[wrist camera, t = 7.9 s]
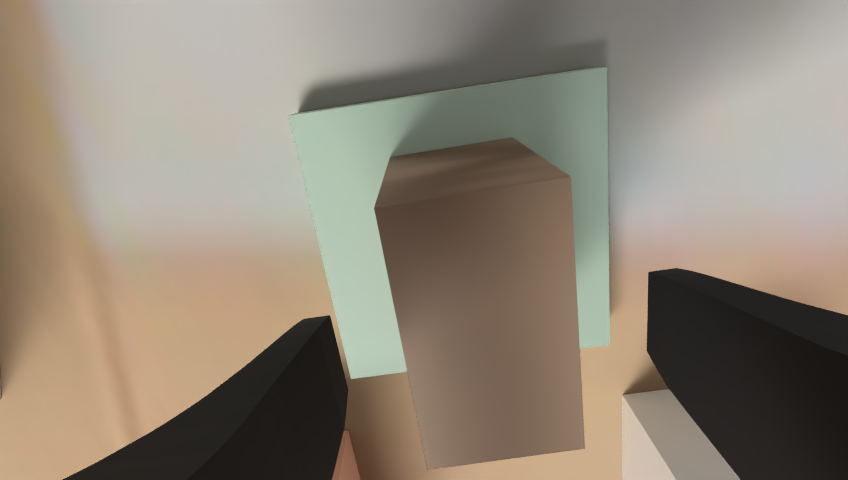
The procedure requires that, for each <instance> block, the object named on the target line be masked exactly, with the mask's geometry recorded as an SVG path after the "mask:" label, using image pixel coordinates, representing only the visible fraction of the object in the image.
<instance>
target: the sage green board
mask: <svg viewBox="0 0 848 480" xmlns="http://www.w3.org/2000/svg"><path fill="white" fill-rule="evenodd" d="M288 118H289V122H290V126H291V130H292V135H293V139H294V143H295V147H296V151H297V155H298V160H299V164H300V168H301V172H302V176H303V181H304V185H305V189H306V193H307V197H308V201H309V206H310V210H311V214H312V218H313V222H314V227H315V231H316V235H317V239H318V243H319V247H320V252H321V256H322V260H323V264H324V268H325V273H326V277H327V281H328V285H329V289H330V293H331V298H332V302H333V306H334V310H335V314H336V319H337V323H338V327H339V331H340V335H341V339H342V344H343V348H344V352H345V356H346V360H347V364H348V369H349V373H350V377H351V379H356V378H363V377H371V376H378V375H386V374H394V373H401V372H407V368H406V363H405V358H404V353H403V348H402V343H401V338H400V333H399V328H398V323H397V319H396V314H395V309H394V304H393V299H392V294H391V289H390V284H389V279H388V274H387V269H386V265H385V260H384V255H383V250H382V245H381V240H380V235H379V230H378V225H377V220H376V216H375V211H374V206H375V203H376V200H377V197H378V194H379V190H380V187H381V184H382V181H383V178H384V174H385V171H386V168H387V165H388V162H389V159H390V157H394V156H400V155H406V154H412V153H418V152H424V151H430V150H437V149H443V148H449V147H455V146H461V145H467V144H474V143H480V142H486V141H492V140H498V139H504V138H511V137H513V138H514V139H516V140H517V141H519V142H520V143H522V144H523V145H525V146H526V147H528V148H529V149H531V150H532V151H534V152H535V153H537V154H538V155H540V156H541V157H543V158H544V159H546V160H547V161H548V162H550V163H551V164H553V165H554V166H556V167H557V168H559V169H560V170H562V171H563V172H565V173H566V174H568V175H569V176H571V185H572V205H573V225H574V245H575V264H576V284H577V304H578V324H579V343H580V349H583V348H590V347H598V346H605V345H610V315H609V209H608V102H607V67H592V68H586V69H579V70H573V71H566V72H560V73H553V74H547V75H540V76H534V77H527V78H521V79H514V80H508V81H501V82H495V83H488V84H482V85H475V86H469V87H462V88H456V89H449V90H443V91H436V92H430V93H423V94H417V95H410V96H404V97H397V98H391V99H384V100H378V101H371V102H365V103H358V104H352V105H345V106H339V107H332V108H326V109H319V110H312V111H306V112H299V113H295V114H292V115H289V116H288Z"/></svg>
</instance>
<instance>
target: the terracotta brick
mask: <svg viewBox="0 0 848 480" xmlns="http://www.w3.org/2000/svg"><path fill="white" fill-rule="evenodd" d="M332 480H361V479H360V475H359V471H358V467H357V463H356V459H355V455H354V451H353V447H352V443H351V439H350V435H349V432H348V430H347V431H344V432H343V436H342V440H341V445H340V449H339V453H338V457H337V461H336V466H335V470H334V474H333V478H332Z"/></svg>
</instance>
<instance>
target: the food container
mask: <svg viewBox="0 0 848 480" xmlns="http://www.w3.org/2000/svg"><path fill="white" fill-rule="evenodd" d="M1 398H2V392H1V374H0V399H1Z"/></svg>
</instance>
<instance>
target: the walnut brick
mask: <svg viewBox="0 0 848 480" xmlns="http://www.w3.org/2000/svg"><path fill="white" fill-rule="evenodd" d="M374 211H375V216H376V220H377V225H378V230H379V235H380V240H381V245H382V250H383V255H384V260H385V265H386V269H387V274H388V279H389V284H390V289H391V294H392V299H393V304H394V309H395V314H396V319H397V323H398V328H399V333H400V338H401V343H402V348H403V353H404V358H405V363H406V368H407V373H408V377H409V382H410V387H411V392H412V397H413V402H414V407H415V412H416V417H417V422H418V427H419V431H420V436H421V441H422V446H423V451H424V456H425V461H426V466H427V470H430V469H437V468H445V467H452V466H459V465H467V464H474V463H482V462H489V461H496V460H504V459H511V458H519V457H526V456H534V455H541V454H548V453H556V452H563V451H571V450H578V449H585V442H584V422H583V402H582V383H581V363H580V343H579V324H578V304H577V284H576V264H575V245H574V225H573V205H572V185H571V176H569V175H568V174H566V173H565V172H563V171H562V170H560V169H559V168H557V167H556V166H554V165H553V164H551V163H550V162H548V161H547V160H546V159H544V158H543V157H541V156H540V155H538V154H537V153H535V152H534V151H532V150H531V149H529V148H528V147H526V146H525V145H523V144H522V143H520V142H519V141H517V140H516V139H514V138H513V137H511V138H504V139H498V140H492V141H486V142H480V143H474V144H467V145H461V146H455V147H449V148H443V149H437V150H430V151H424V152H418V153H412V154H406V155H400V156H394V157H390V159H389V162H388V165H387V168H386V171H385V174H384V178H383V181H382V184H381V187H380V190H379V194H378V197H377V200H376V203H375V206H374Z"/></svg>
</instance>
